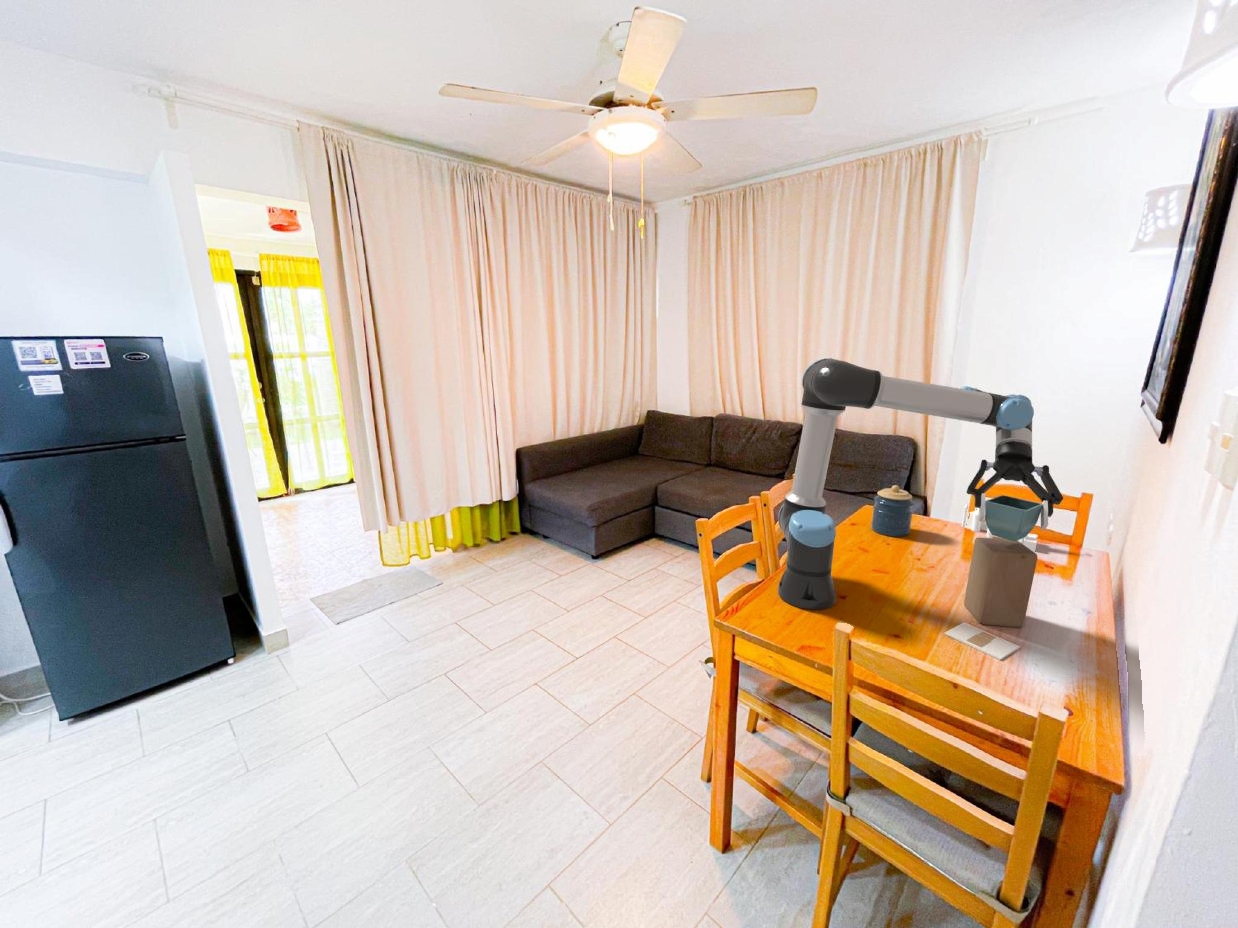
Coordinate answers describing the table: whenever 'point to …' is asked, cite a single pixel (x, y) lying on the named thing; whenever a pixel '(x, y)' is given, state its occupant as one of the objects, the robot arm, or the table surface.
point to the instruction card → (982, 640)
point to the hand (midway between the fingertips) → (1012, 523)
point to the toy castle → (976, 525)
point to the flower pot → (1011, 517)
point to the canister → (892, 512)
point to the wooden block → (1000, 581)
